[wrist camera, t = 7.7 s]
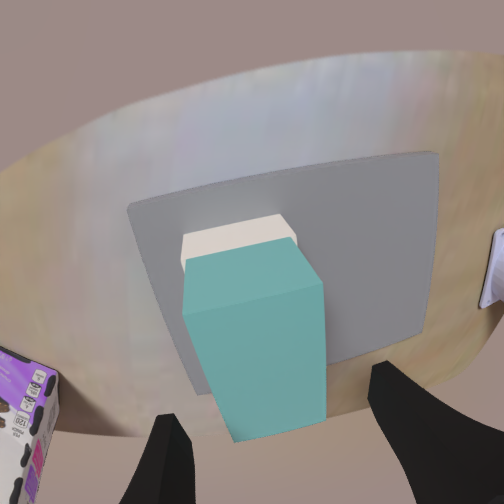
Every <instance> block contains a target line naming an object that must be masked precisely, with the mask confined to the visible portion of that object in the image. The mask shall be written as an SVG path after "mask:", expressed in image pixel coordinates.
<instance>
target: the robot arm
mask: <svg viewBox="0 0 504 504" xmlns="http://www.w3.org/2000/svg"><path fill="white" fill-rule="evenodd" d="M498 300H502V301H503V302H504V228H501V229H498V230H496V232H495V233H494V237H493V243H492V249H491V255H490V260H489V265H488V270H487V275H486V279H485V284H484V288H483V292H482V296H481V300H480V304H479V306H480V307H481V308H485V307H487V306H489V305H491V304H493V303H495V302H497V301H498ZM367 399H368V401H369V404H370V406H371V409H372V411H373V414H374V416H375V418H376V421H377V423H378V424H379V426H380V428H381V430H382V431H383V433H384V435H385V437H386V438H387V440H388V442H389V444H390V445H391V447H392V449H393V451H394V452H395V454H396V456H397V458H398V459H399V461H400V463H401V465H402V467H403V469H404V471H405V474H406V476H407V479H408V481H409V484H410V486H411V489H412V492H413V494H414V497H415V500H416V503H417V504H504V432H503V431H500V430H497V429H495V428H492V427H489V426H486V425H484V424H482V423H480V422H478V421H475V420H473V419H471V418H469V417H467V416H465V415H463V414H461V413H460V412H458V411H456V410H455V409H453V408H451V407H450V406H448V405H447V404H445V403H443V402H442V401H440V400H439V399H437V398H436V397H434V396H433V395H431V394H430V393H429V392H427V391H426V390H425V389H423V388H422V387H420V386H419V385H418V384H417V383H415V382H414V381H413V380H411V379H410V378H409V377H407V376H406V375H405V374H404V373H402V372H401V371H400V370H399V369H398V368H396V367H395V366H394V365H393V364H391V363H390V362H389V361H384V362H381V363H378V364H376V365H373V366H372V372H371V379H370V385H369V392H368V398H367ZM195 501H196V500H195V465H194V457H193V449H192V442H191V440H190V438H189V437H188V435H187V434H186V432H185V431H184V429H183V427H182V426H181V424H180V423H179V421H178V419H177V418H176V416H175V415H174V413H172V414H164V415H158V416H157V417H156V419H155V422H154V425H153V428H152V431H151V433H150V436H149V439H148V442H147V444H146V447H145V450H144V452H143V455H142V457H141V459H140V462H139V464H138V467H137V469H136V471H135V473H134V475H133V477H132V479H131V482H130V484H129V486H128V488H127V490H126V492H125V494H124V496H123V497H122V499H121V501H120V503H119V504H196V503H195Z"/></svg>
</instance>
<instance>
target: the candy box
mask: <svg viewBox="0 0 504 504" xmlns="http://www.w3.org/2000/svg"><path fill="white" fill-rule="evenodd" d="M59 411H60V410H59V379H58V372H57V371H55V370H53V369H51V368H48V367H46V366H44V365H41V364H39V363H36V362H34V361H30V360H28V359H26V358H24V357H21V356H20V355H18V354H15V353H13V352H11V351H9V350H6V349H4V348H2V347H0V504H35V502H36V497H37V492H38V488H39V483H40V479H41V475H42V471H43V466H44V463H45V458H46V455H47V451H48V447H49V444H50V441H51V437H52V434H53V431H54V428H55V425H56V421H57V418H58V415H59Z"/></svg>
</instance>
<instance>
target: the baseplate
mask: <svg viewBox="0 0 504 504" xmlns="http://www.w3.org/2000/svg"><path fill="white" fill-rule="evenodd" d="M438 195H439V154H438V153H434V152H431V151H424V152H413V153H403V154H393V155H384V156H376V157H367V158H360V159H352V160H345V161H338V162H331V163H324V164H317V165H311V166H305V167H299V168H293V169H287V170H281V171H275V172H270V173H265V174H259V175H254V176H249V177H244V178H239V179H234V180H229V181H224V182H219V183H215V184H210V185H205V186H201V187H196V188H192V189H188V190H183V191H179V192H175V193H171V194H167V195H162V196H158V197H154V198H150V199H147V200H143V201H139V202H135V203H131V204H130V205H129V206H128V208H127V212H128V216H129V219H130V222H131V226H132V229H133V232H134V235H135V238H136V242H137V245H138V248H139V251H140V254H141V257H142V260H143V263H144V266H145V268H146V271H147V274H148V277H149V280H150V283H151V285H152V288H153V291H154V294H155V296H156V299H157V302H158V304H159V307H160V310H161V312H162V315H163V317H164V320H165V322H166V325H167V327H168V330H169V332H170V335H171V337H172V340H173V342H174V344H175V347H176V349H177V352H178V354H179V356H180V359H181V361H182V363H183V365H184V368H185V370H186V372H187V374H188V377H189V379H190V381H191V383H192V385H193V388H194V390H195V392H196V394H197V395H203V394H209V393H212V391H211V389H210V386H209V384H208V381H207V379H206V376H205V374H204V371H203V369H202V366H201V364H200V361H199V359H198V356H197V354H196V351H195V348H194V346H193V343H192V340H191V338H190V335H189V332H188V330H187V327H186V324H185V321H184V319H183V316H182V310H183V293H184V277H185V264H186V259H189V258H194V257H198V256H203V255H208V254H212V253H217V252H221V251H226V250H230V249H235V248H239V247H244V246H249V245H253V244H258V243H262V242H267V241H272V240H276V239H281V238H285V237H291V238H292V240H293V241H294V242H295V244H296V245H297V247H298V248H299V249H300V251H301V252H302V254H303V255H304V257H305V258H306V259H307V261H308V262H309V264H310V265H311V267H312V268H313V269H314V271H315V272H316V274H317V275H318V277H319V278H320V280H321V281H322V282H323V291H324V312H325V339H326V366H328V365H331V364H334V363H337V362H341V361H344V360H347V359H350V358H353V357H356V356H359V355H362V354H365V353H368V352H371V351H374V350H377V349H380V348H383V347H385V346H388V345H391V344H394V343H396V342H399V341H402V340H404V339H407V338H409V337H412V336H414V335H417V334H419V333H422V330H423V325H424V320H425V314H426V309H427V303H428V297H429V291H430V284H431V277H432V270H433V262H434V253H435V243H436V231H437V217H438Z"/></svg>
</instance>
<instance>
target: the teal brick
mask: <svg viewBox="0 0 504 504" xmlns="http://www.w3.org/2000/svg"><path fill="white" fill-rule="evenodd" d="M182 316H183V319H184V321H185V324H186V327H187V330H188V332H189V335H190V338H191V340H192V343H193V346H194V348H195V351H196V354H197V356H198V359H199V361H200V364H201V366H202V369H203V371H204V374H205V376H206V379H207V381H208V384H209V386H210V389H211V391H212V393H213V396H214V398H215V400H216V403H217V405H218V407H219V410H220V412H221V414H222V417H223V419H224V421H225V423H226V426H227V428H228V430H229V432H230V434H231V437H232V439H233V441H234V442H241V441H246V440H251V439H256V438H261V437H266V436H270V435H274V434H279V433H283V432H287V431H291V430H294V429H298V428H302V427H306V426H309V425H313V424H316V423H320V422H323V421H326V339H325V312H324V291H323V282H322V281H321V280H320V278H319V277H318V275H317V274H316V272H315V271H314V269H313V268H312V267H311V265H310V264H309V262H308V261H307V259H306V258H305V257H304V255H303V254H302V252H301V251H300V249H299V248H298V247H297V245H296V244H295V242H294V241H293V240H292V238H291V237H285V238H281V239H276V240H272V241H267V242H262V243H258V244H253V245H249V246H244V247H239V248H235V249H230V250H226V251H221V252H217V253H212V254H208V255H203V256H198V257H194V258H189V259H186V264H185V277H184V293H183V310H182Z"/></svg>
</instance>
